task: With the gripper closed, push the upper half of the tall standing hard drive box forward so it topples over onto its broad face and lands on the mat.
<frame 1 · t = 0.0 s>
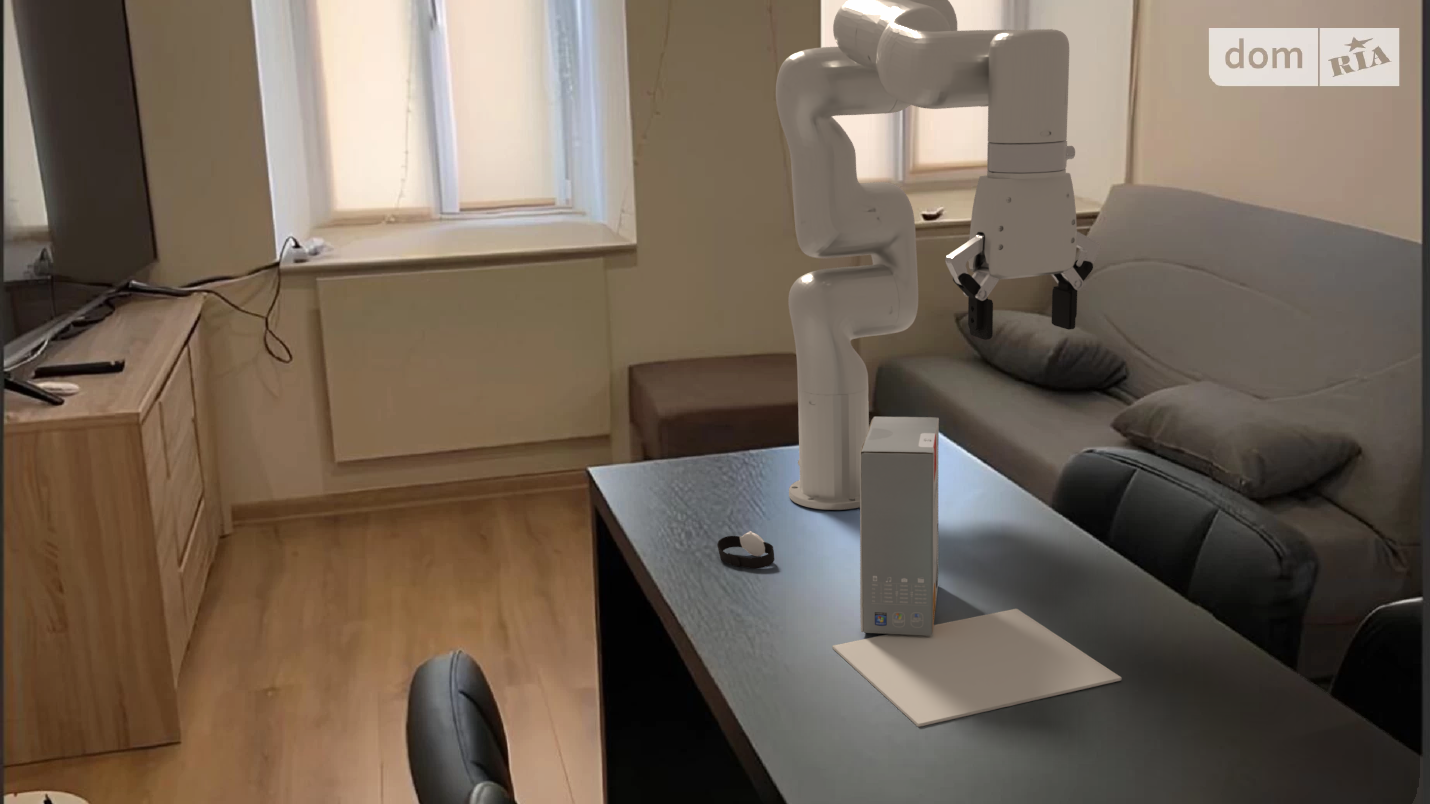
hand: (1022, 332, 133), 31 cm above the table, tool pointing down, fingers open, 9 cm apart
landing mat: (971, 663, 130), on the table
hard drive box: (901, 610, 143), on the table, touching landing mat
watch: (746, 563, 159), on the table
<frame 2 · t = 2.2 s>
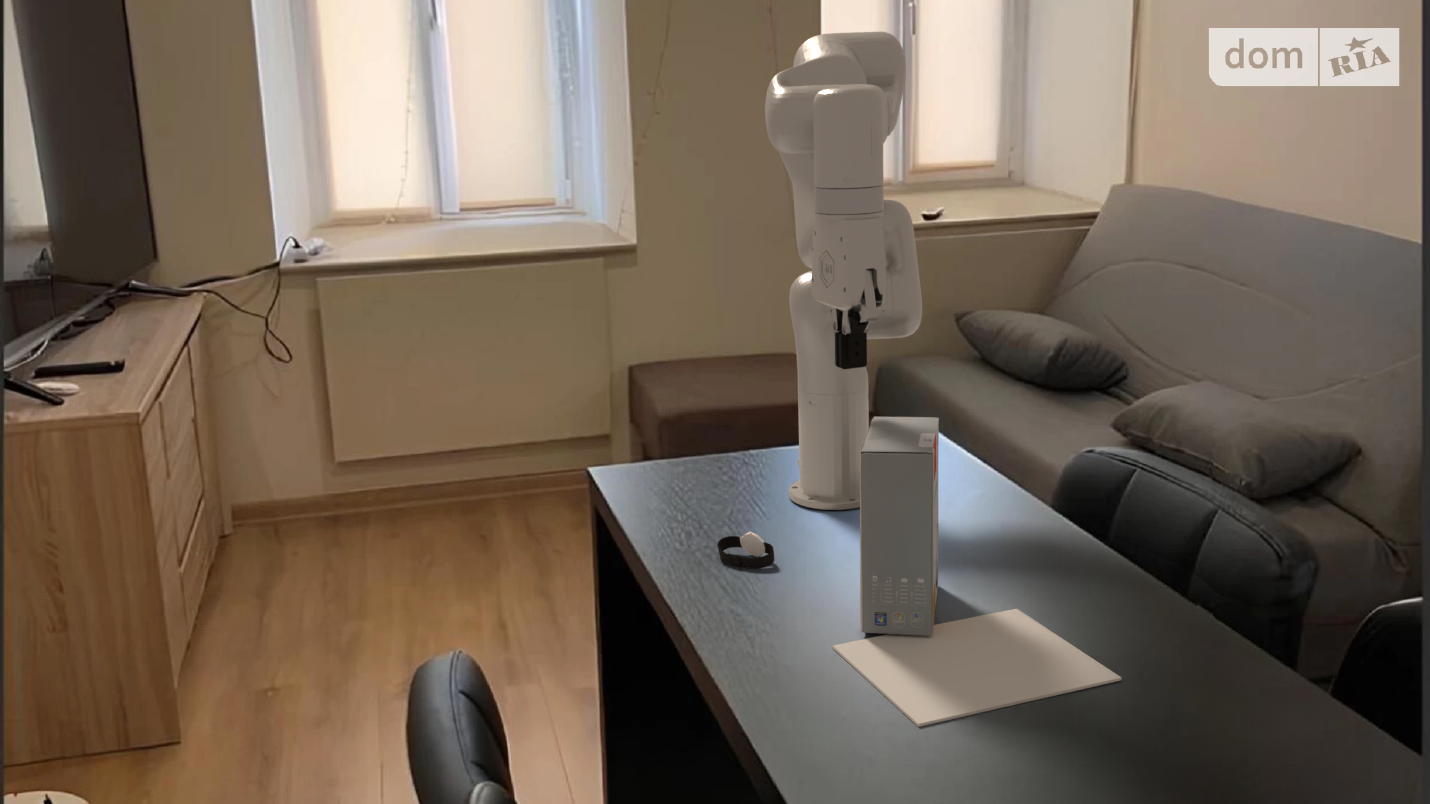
hand: (851, 366, 148), 25 cm above the table, tool pointing down, fingers closed
nothing on the table moved.
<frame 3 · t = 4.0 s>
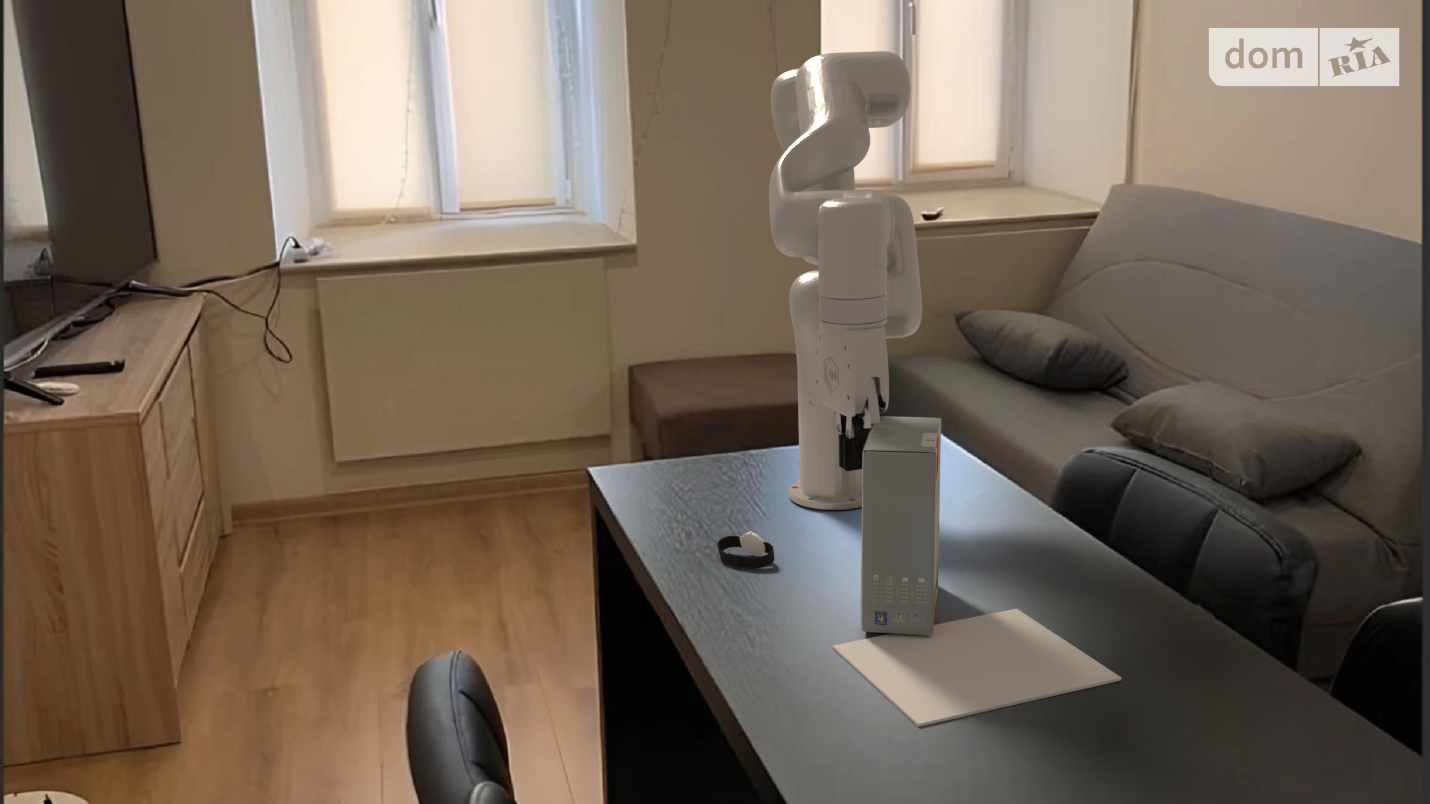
hand: (854, 467, 150), 13 cm above the table, tool pointing down, fingers closed
hard drive box: (901, 610, 143), on the table, touching gripper, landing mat
everything else where it was.
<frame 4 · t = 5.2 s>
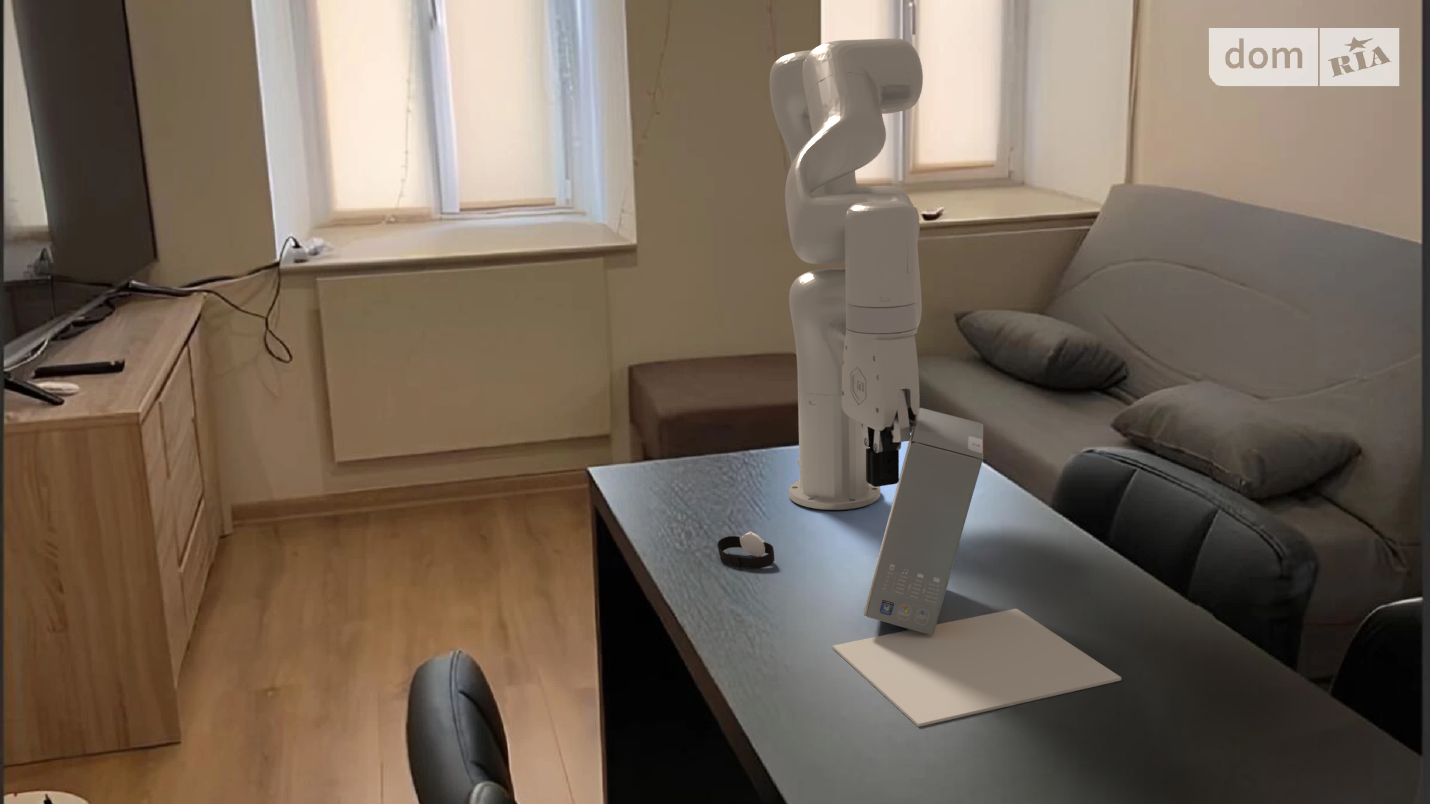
hand: (882, 483, 144), 13 cm above the table, tool pointing down, fingers closed
hard drive box: (902, 602, 143), point 1 cm above the table, touching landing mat
everything else where it was.
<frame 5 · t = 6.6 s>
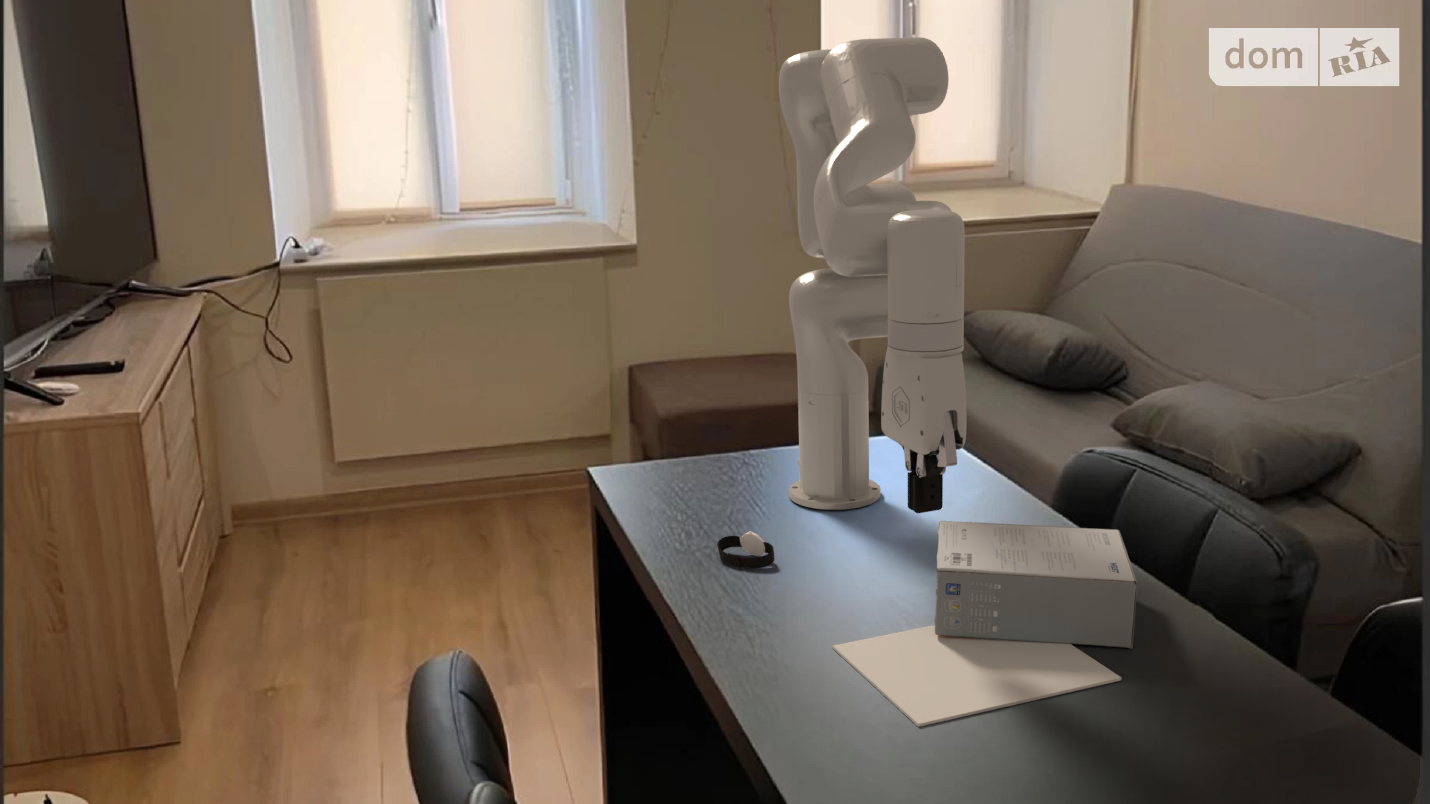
hand: (925, 508, 135), 13 cm above the table, tool pointing down, fingers closed
hard drive box: (933, 574, 142), point 4 cm above the table, touching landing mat
everything else where it was.
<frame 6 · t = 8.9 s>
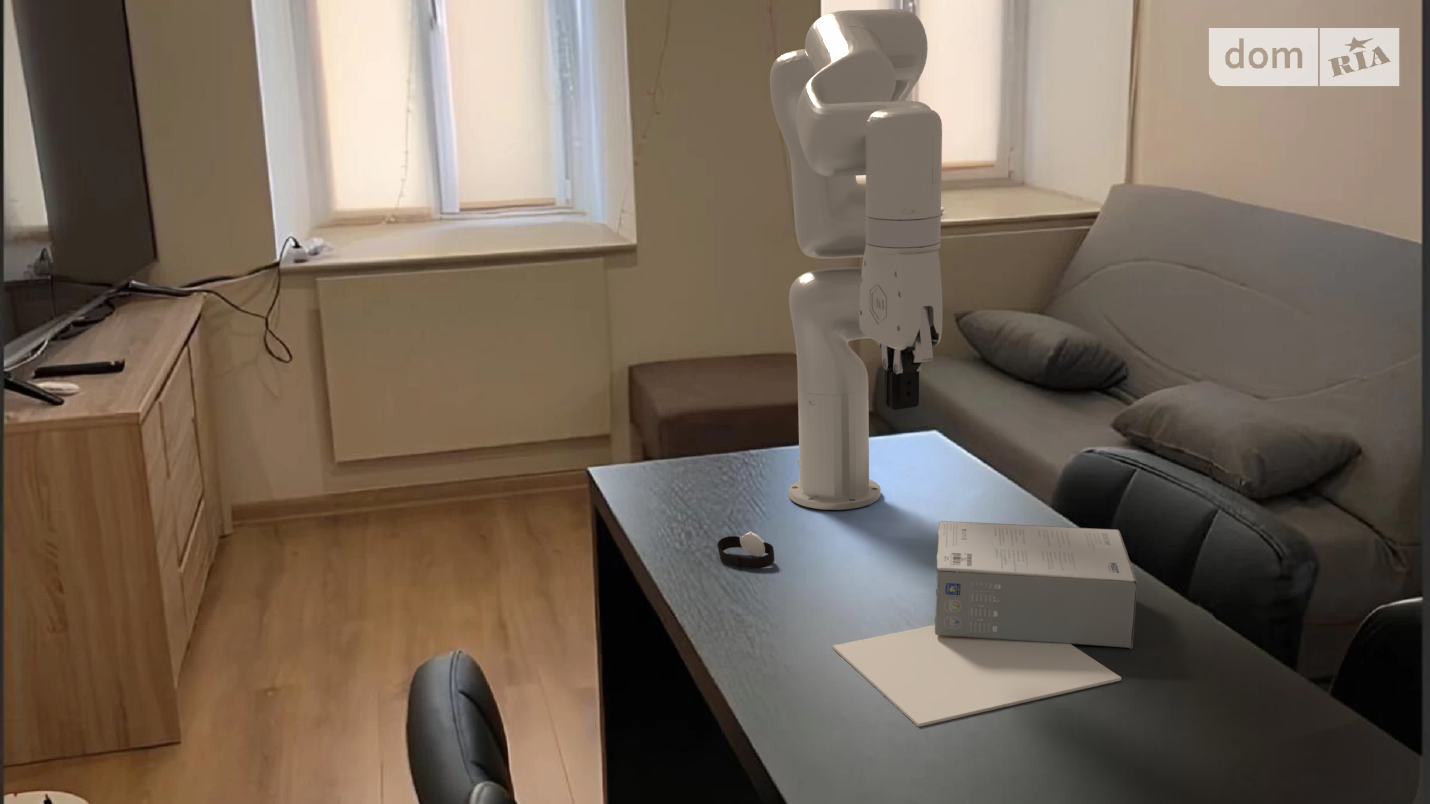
hand: (901, 406, 138), 23 cm above the table, tool pointing down, fingers closed
nothing on the table moved.
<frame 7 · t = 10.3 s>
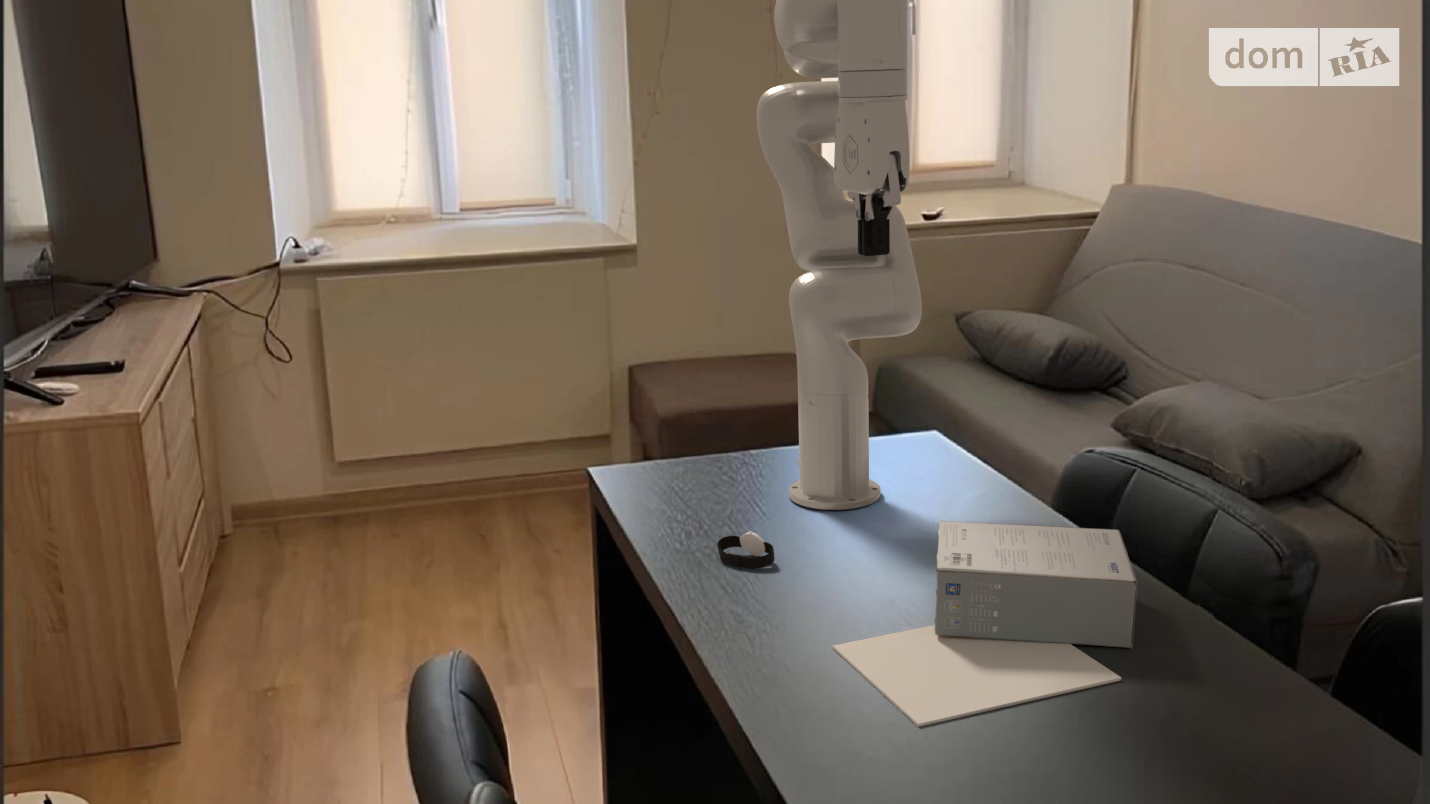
hand: (873, 254, 148), 37 cm above the table, tool pointing down, fingers closed
nothing on the table moved.
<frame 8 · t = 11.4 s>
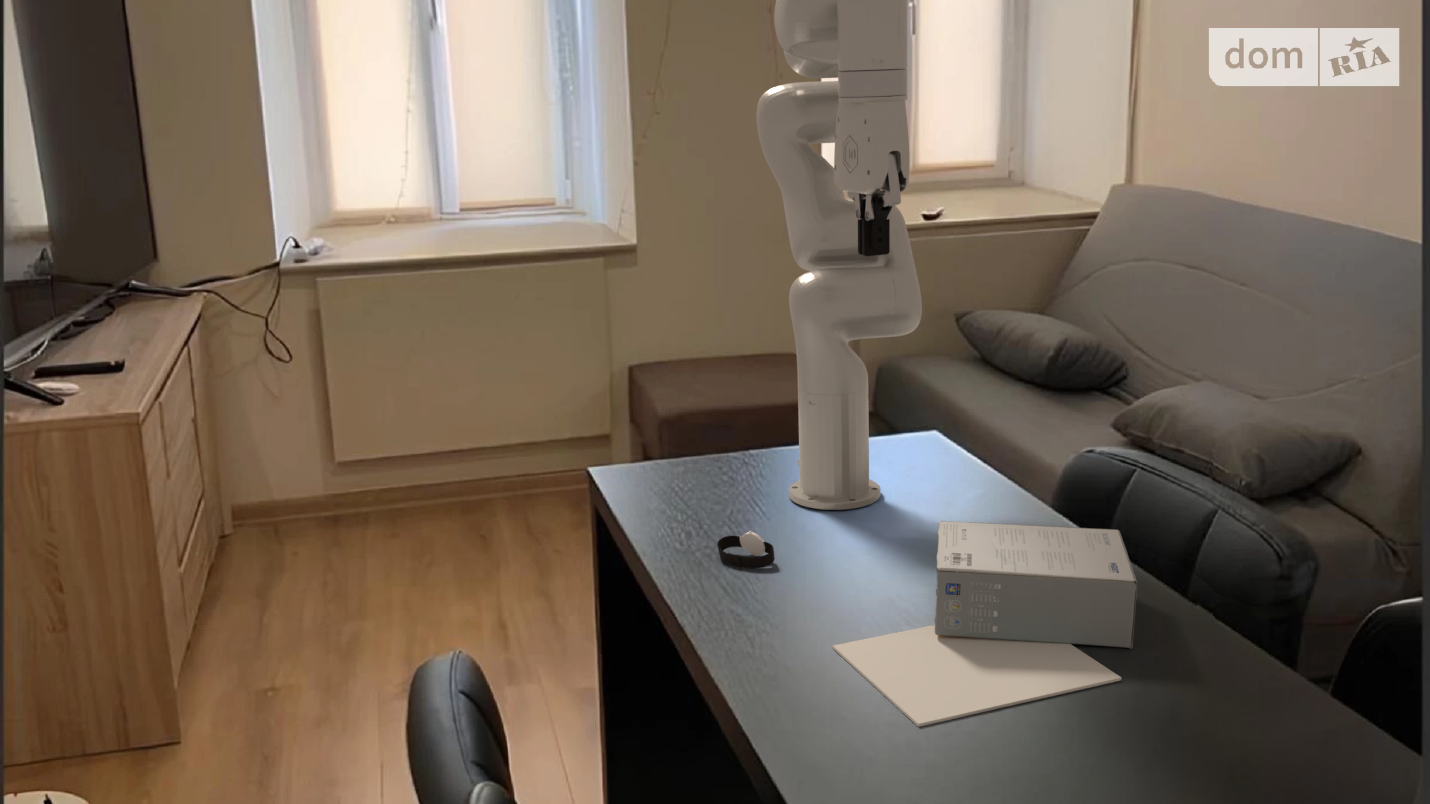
hand: (873, 254, 148), 37 cm above the table, tool pointing down, fingers closed
nothing on the table moved.
at the end: hard drive box tilted 91°; hard drive box inside the target area (5.1 cm from its centre), point 4.2 cm above the table; watch moved 0.4 cm from its start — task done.
